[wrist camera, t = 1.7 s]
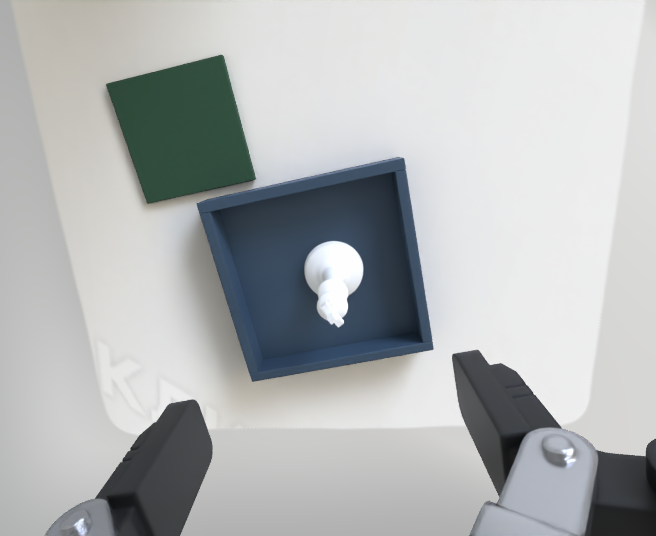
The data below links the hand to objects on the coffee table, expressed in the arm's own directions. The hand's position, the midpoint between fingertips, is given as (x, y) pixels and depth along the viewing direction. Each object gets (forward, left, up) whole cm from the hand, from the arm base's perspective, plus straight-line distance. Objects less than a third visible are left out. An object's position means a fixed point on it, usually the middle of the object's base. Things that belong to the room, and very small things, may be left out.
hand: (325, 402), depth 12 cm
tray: (+2, -1, -22) cm, 22 cm away
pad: (-11, -9, -22) cm, 26 cm away
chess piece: (+2, 0, -21) cm, 21 cm away
